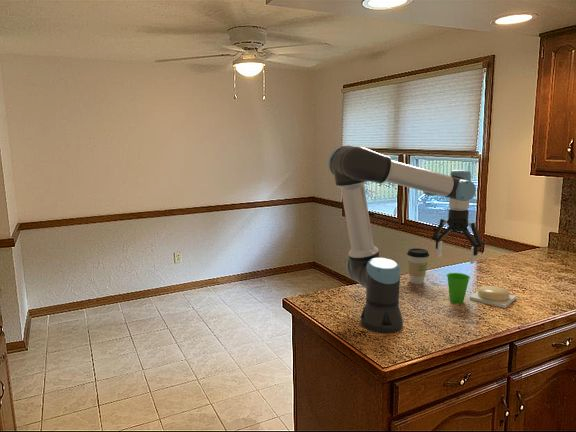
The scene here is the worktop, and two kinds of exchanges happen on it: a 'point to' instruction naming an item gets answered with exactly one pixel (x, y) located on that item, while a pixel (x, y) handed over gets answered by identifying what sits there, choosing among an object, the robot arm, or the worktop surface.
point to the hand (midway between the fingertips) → (455, 260)
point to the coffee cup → (417, 264)
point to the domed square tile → (493, 296)
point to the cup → (457, 286)
